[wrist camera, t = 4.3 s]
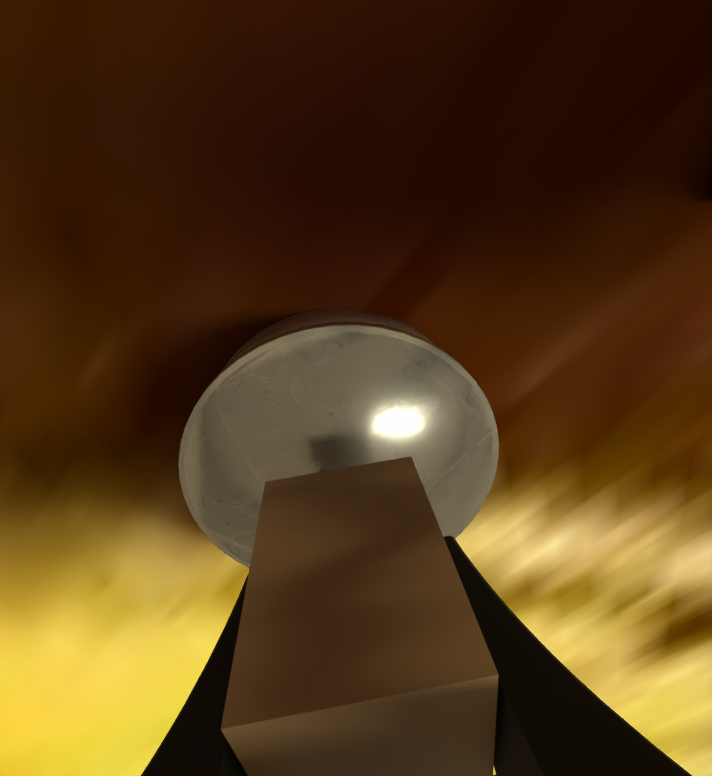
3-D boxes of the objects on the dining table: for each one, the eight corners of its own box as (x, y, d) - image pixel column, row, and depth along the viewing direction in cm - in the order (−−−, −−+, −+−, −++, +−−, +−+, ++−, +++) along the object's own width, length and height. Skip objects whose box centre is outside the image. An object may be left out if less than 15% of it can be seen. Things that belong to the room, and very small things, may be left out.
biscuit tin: (476, 289, 16) (518, 310, 12) (458, 513, 21) (483, 566, 18) (170, 314, 15) (132, 343, 12) (233, 540, 20) (219, 602, 17)
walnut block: (411, 456, 11) (498, 674, 6) (420, 557, 13) (492, 791, 8) (265, 481, 11) (220, 729, 6) (295, 580, 13) (283, 834, 8)
